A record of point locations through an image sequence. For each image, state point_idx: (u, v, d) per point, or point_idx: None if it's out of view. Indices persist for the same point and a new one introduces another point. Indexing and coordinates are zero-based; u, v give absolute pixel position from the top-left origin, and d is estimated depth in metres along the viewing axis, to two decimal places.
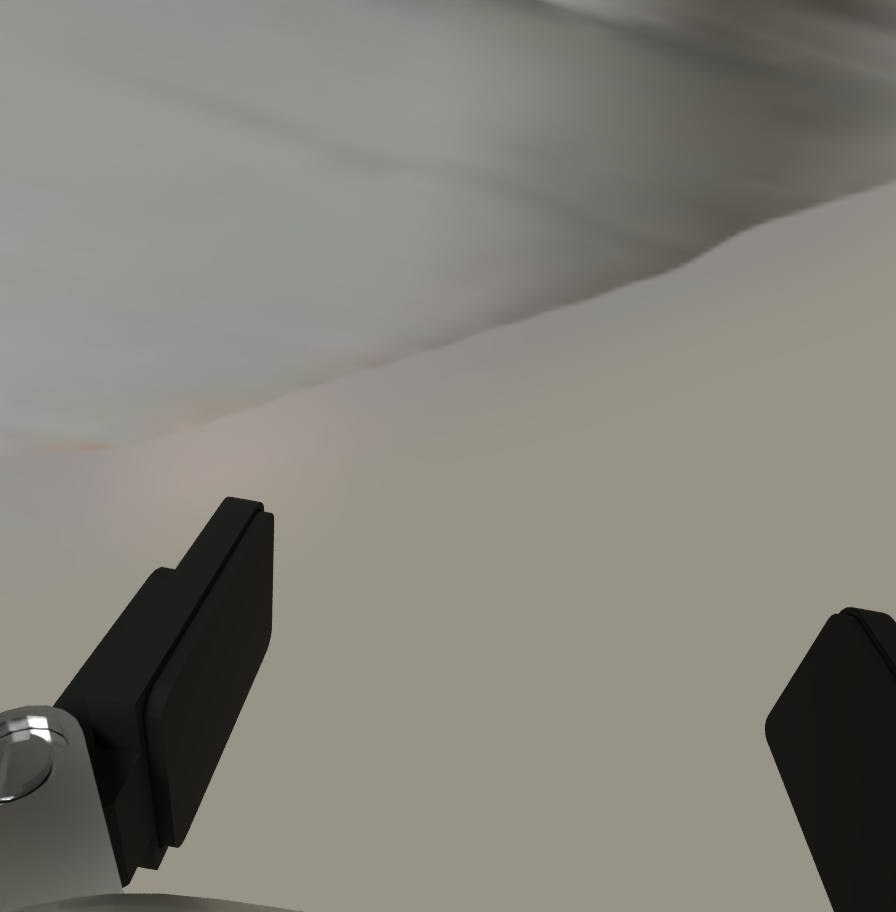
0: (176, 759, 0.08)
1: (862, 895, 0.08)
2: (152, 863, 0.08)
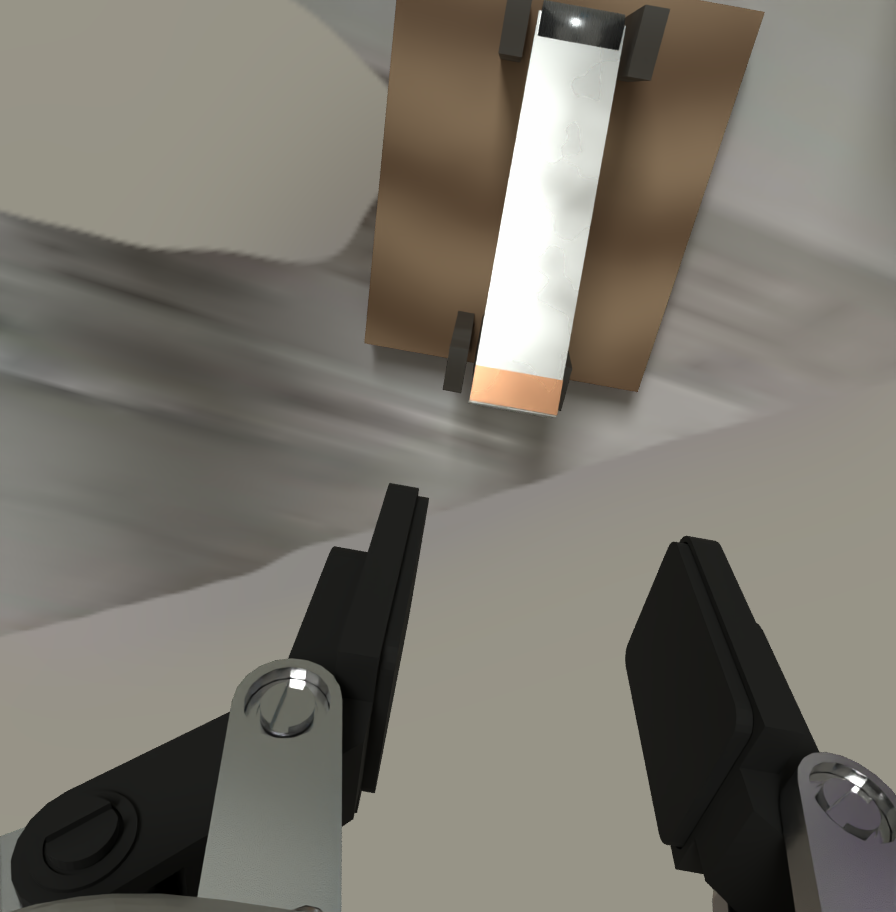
0: (388, 711, 0.09)
1: (669, 782, 0.09)
2: None
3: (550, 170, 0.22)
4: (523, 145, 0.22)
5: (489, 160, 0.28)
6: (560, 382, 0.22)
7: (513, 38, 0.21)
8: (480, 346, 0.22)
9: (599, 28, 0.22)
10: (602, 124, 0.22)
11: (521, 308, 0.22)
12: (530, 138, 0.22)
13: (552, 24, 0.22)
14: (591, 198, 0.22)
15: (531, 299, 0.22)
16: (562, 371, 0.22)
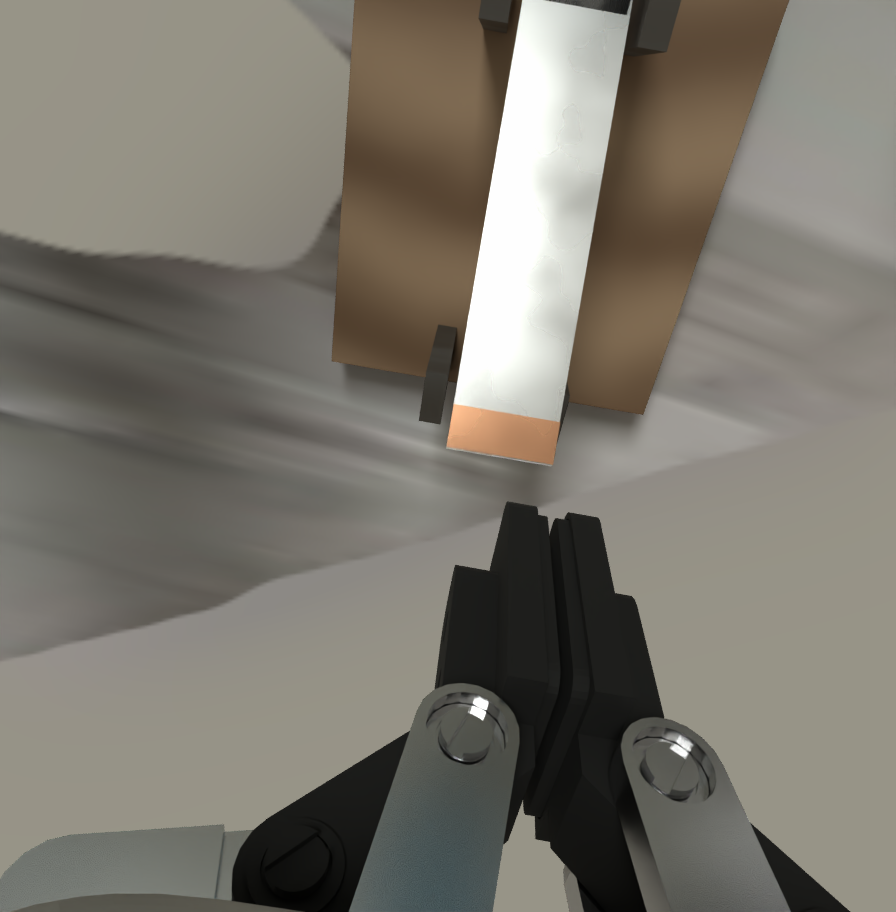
0: None
1: None
2: None
3: (543, 163, 0.18)
4: (510, 133, 0.18)
5: (471, 150, 0.24)
6: (557, 424, 0.18)
7: None
8: (459, 380, 0.18)
9: None
10: (608, 106, 0.18)
11: (509, 334, 0.18)
12: (518, 124, 0.18)
13: None
14: (594, 198, 0.18)
15: (521, 323, 0.18)
16: (559, 411, 0.18)
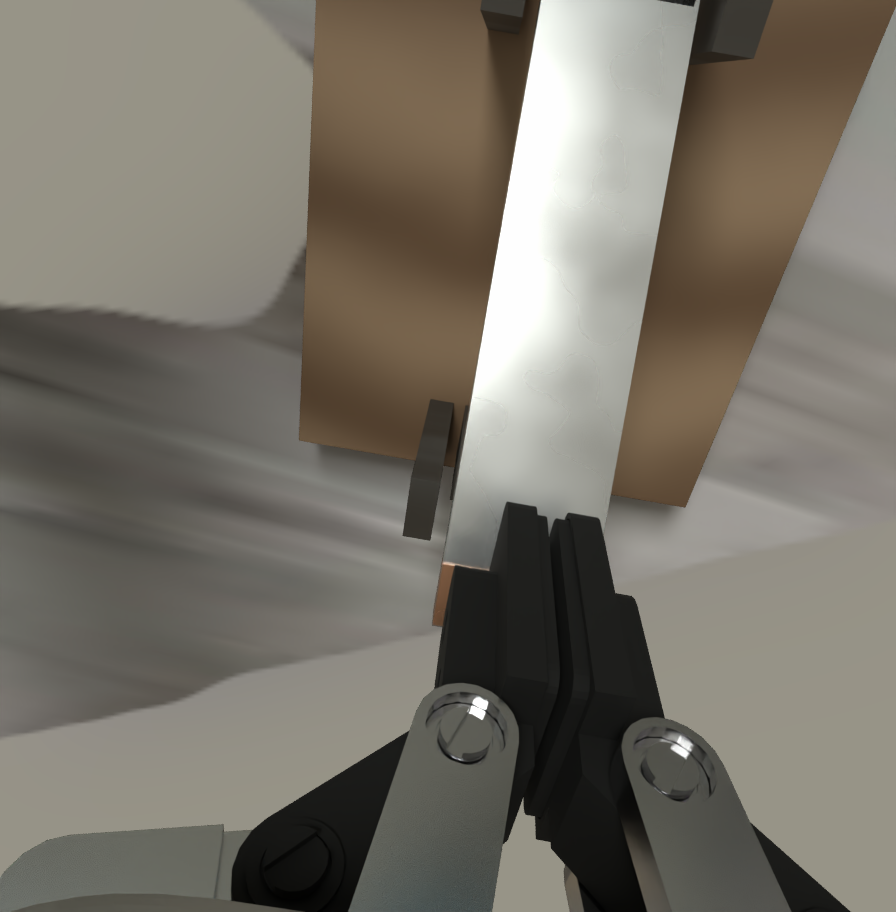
0: None
1: None
2: None
3: (572, 220, 0.12)
4: (524, 178, 0.12)
5: (472, 186, 0.18)
6: None
7: None
8: (451, 529, 0.13)
9: None
10: (665, 139, 0.12)
11: (522, 464, 0.12)
12: (537, 164, 0.12)
13: None
14: (644, 270, 0.12)
15: (539, 448, 0.12)
16: None
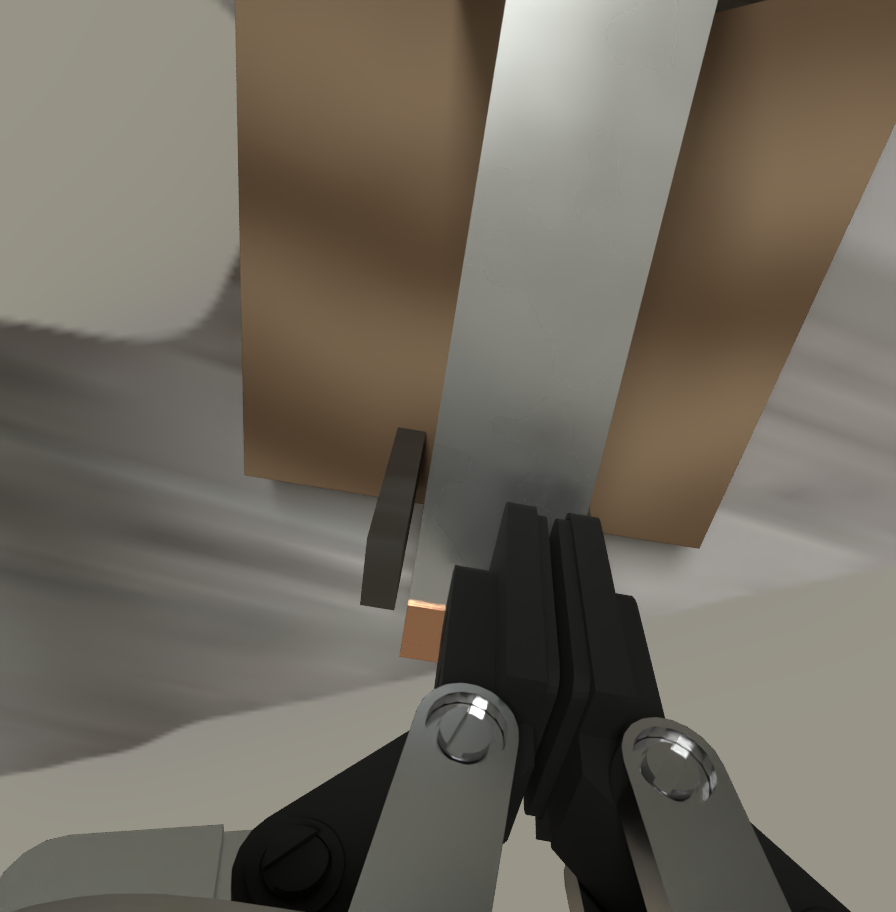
0: None
1: None
2: None
3: (550, 243, 0.10)
4: (493, 190, 0.10)
5: (441, 171, 0.15)
6: None
7: None
8: (415, 572, 0.12)
9: None
10: (672, 133, 0.10)
11: (487, 512, 0.12)
12: (509, 172, 0.10)
13: None
14: (633, 304, 0.11)
15: (506, 497, 0.12)
16: None
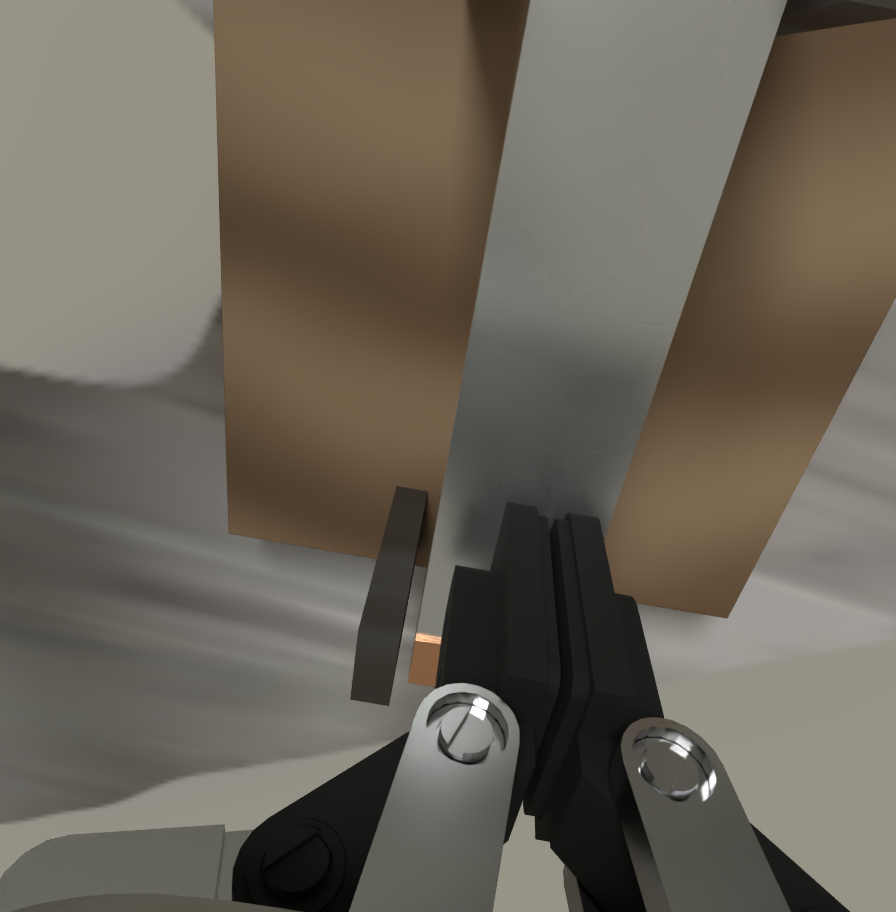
0: None
1: None
2: None
3: (566, 308, 0.10)
4: (504, 252, 0.09)
5: (446, 212, 0.13)
6: None
7: None
8: (422, 612, 0.13)
9: None
10: (708, 193, 0.09)
11: None
12: (522, 233, 0.09)
13: None
14: (653, 371, 0.10)
15: None
16: None
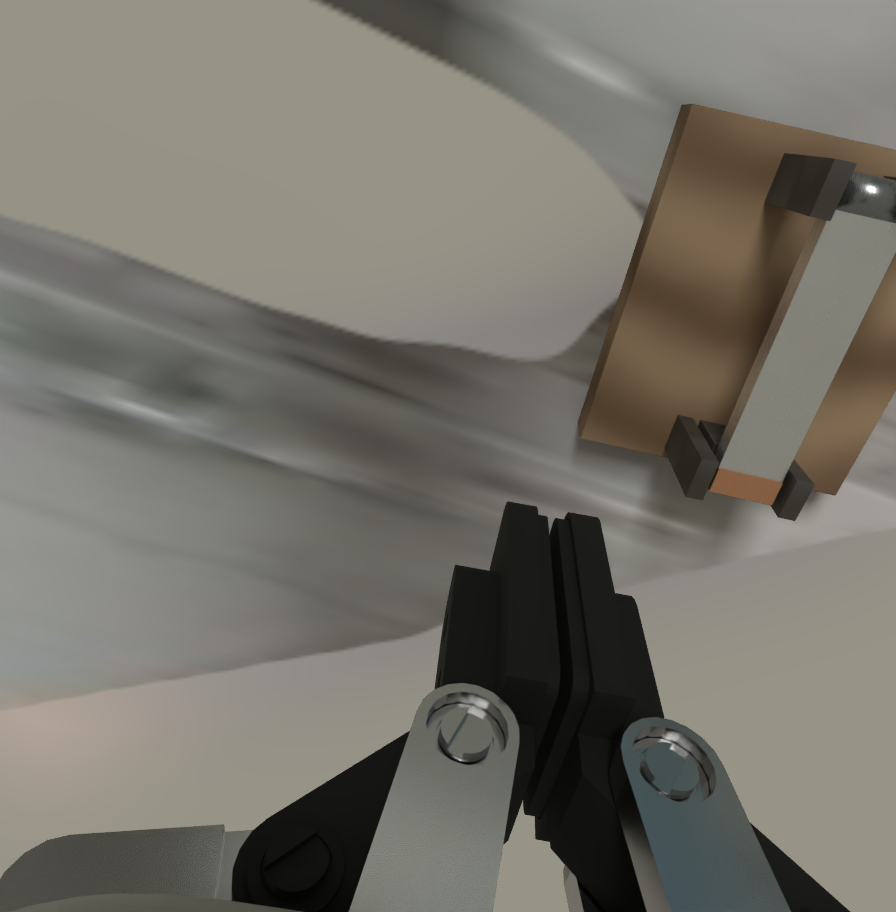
0: None
1: None
2: None
3: (814, 327, 0.26)
4: (796, 306, 0.26)
5: (735, 286, 0.30)
6: (780, 484, 0.29)
7: (826, 205, 0.24)
8: (725, 455, 0.29)
9: (895, 209, 0.24)
10: (871, 291, 0.26)
11: (763, 431, 0.29)
12: (804, 301, 0.26)
13: (852, 204, 0.24)
14: (843, 352, 0.27)
15: (772, 425, 0.28)
16: (783, 476, 0.29)
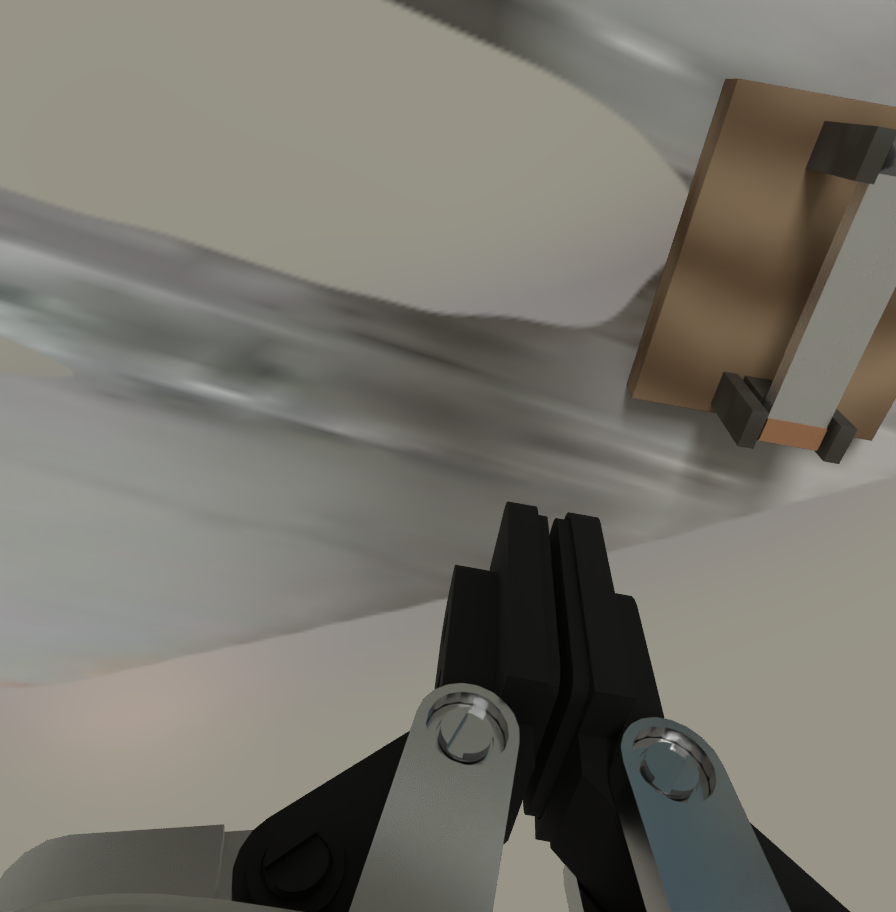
0: None
1: None
2: None
3: (857, 283, 0.29)
4: (840, 265, 0.28)
5: (778, 248, 0.32)
6: (825, 431, 0.32)
7: (870, 170, 0.26)
8: (773, 406, 0.32)
9: None
10: None
11: (809, 382, 0.31)
12: (848, 259, 0.28)
13: (893, 167, 0.26)
14: (883, 305, 0.29)
15: (818, 376, 0.31)
16: (828, 423, 0.32)
